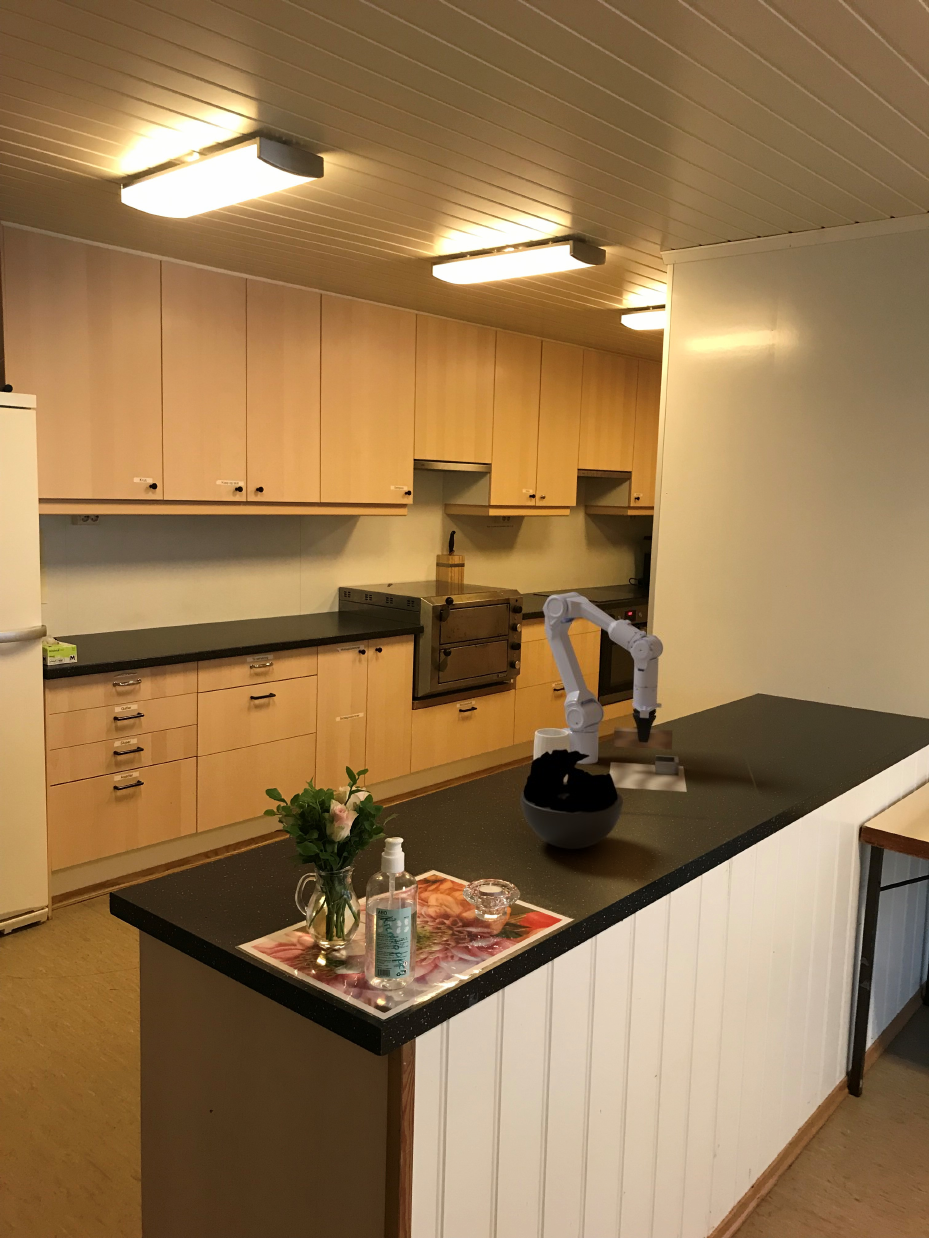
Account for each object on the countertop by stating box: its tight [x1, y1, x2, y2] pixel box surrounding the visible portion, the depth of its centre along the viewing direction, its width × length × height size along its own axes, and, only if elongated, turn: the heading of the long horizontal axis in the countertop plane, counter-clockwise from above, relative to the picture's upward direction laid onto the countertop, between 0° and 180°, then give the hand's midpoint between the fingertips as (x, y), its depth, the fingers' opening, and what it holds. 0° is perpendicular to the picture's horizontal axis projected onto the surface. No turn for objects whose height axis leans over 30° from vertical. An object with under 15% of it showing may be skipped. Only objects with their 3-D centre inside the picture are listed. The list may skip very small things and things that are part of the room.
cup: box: [533, 727, 570, 782], centre depth 228 cm, size 8×8×14 cm
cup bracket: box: [654, 754, 680, 776], centre depth 243 cm, size 6×7×3 cm
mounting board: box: [609, 761, 687, 793], centre depth 239 cm, size 18×21×1 cm
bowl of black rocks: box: [520, 749, 624, 850], centre depth 193 cm, size 20×20×19 cm
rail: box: [613, 726, 673, 751], centre depth 242 cm, size 14×3×4 cm, turn 79°
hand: (643, 739), depth 242 cm, fingers closed on rail, 3 cm apart
